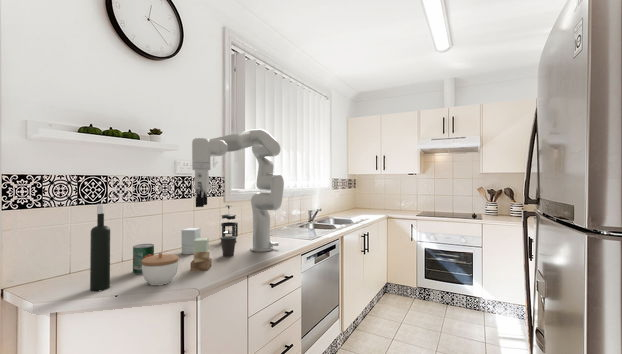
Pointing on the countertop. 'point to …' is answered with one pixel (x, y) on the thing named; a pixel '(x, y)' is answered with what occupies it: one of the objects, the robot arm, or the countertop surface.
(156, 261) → the lidded bowl
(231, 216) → the french press
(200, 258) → the oak block
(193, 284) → the countertop surface
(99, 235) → the wine bottle
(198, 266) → the walnut block
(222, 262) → the countertop surface
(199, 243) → the sage cube
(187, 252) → the supplement box
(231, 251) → the coffee cup
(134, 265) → the canned tomato
